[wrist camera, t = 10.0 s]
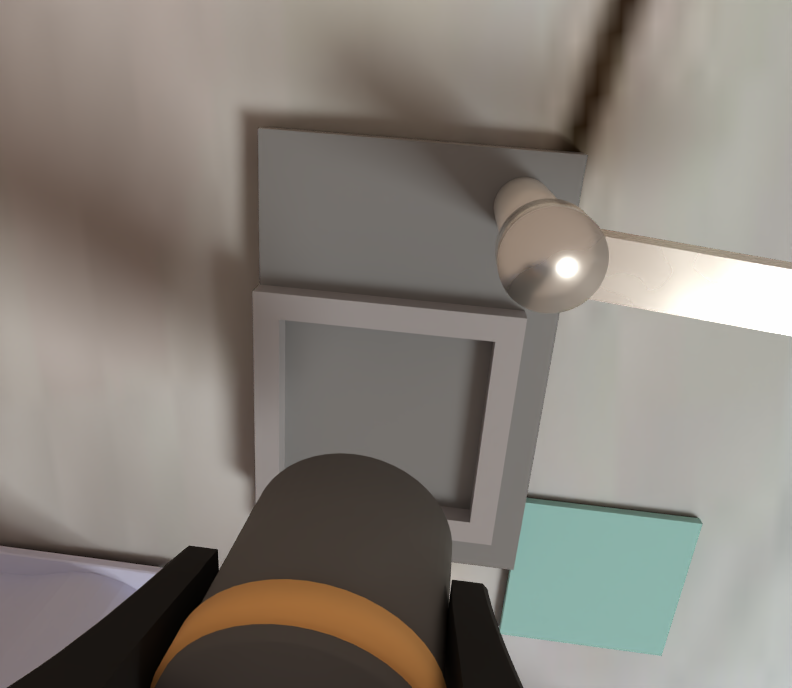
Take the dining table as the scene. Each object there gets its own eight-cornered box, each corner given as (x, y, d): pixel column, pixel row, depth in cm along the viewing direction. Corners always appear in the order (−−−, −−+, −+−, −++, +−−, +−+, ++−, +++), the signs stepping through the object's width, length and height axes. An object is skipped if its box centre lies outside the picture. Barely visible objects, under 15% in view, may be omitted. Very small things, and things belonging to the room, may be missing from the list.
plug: (330, 647, 15) (265, 881, 11) (207, 506, 14) (78, 700, 10) (497, 575, 14) (505, 809, 9) (376, 412, 13) (318, 587, 8)
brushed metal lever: (485, 287, 13) (487, 302, 12) (507, 189, 12) (511, 197, 11) (982, 378, 12) (1023, 401, 11) (1037, 282, 12) (1085, 298, 11)
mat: (499, 627, 24) (499, 634, 24) (522, 496, 22) (522, 502, 21) (659, 649, 23) (661, 655, 23) (699, 518, 21) (702, 524, 21)
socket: (268, 523, 23) (208, 654, 18) (266, 127, 18) (179, 139, 12) (511, 554, 23) (527, 700, 17) (582, 152, 17) (636, 177, 12)
